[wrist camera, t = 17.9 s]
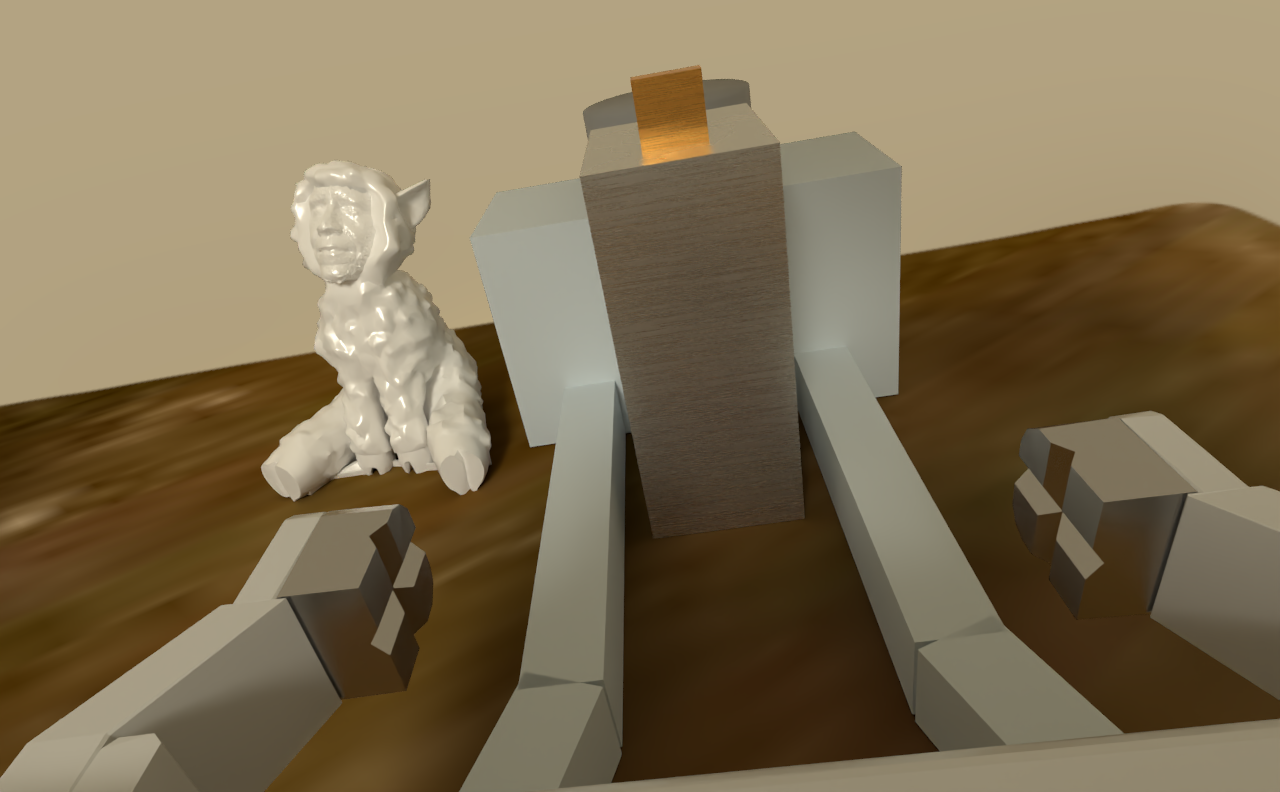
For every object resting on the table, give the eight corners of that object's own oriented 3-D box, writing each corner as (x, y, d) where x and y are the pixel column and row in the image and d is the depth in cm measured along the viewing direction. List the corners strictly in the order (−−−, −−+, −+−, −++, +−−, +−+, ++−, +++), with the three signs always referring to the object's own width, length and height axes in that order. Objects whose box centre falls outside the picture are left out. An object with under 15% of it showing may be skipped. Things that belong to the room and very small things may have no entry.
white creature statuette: (265, 508, 30) (111, 220, 24) (360, 397, 37) (261, 155, 31) (485, 497, 28) (378, 182, 22) (540, 382, 35) (471, 123, 29)
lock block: (653, 538, 24) (564, 100, 18) (649, 438, 30) (579, 70, 23) (804, 518, 24) (774, 63, 17) (773, 420, 29) (741, 40, 22)
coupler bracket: (413, 1003, 14) (70, 525, 8) (544, 376, 36) (477, 118, 30) (1233, 931, 13) (1533, 317, 7) (858, 329, 35) (853, 51, 29)
